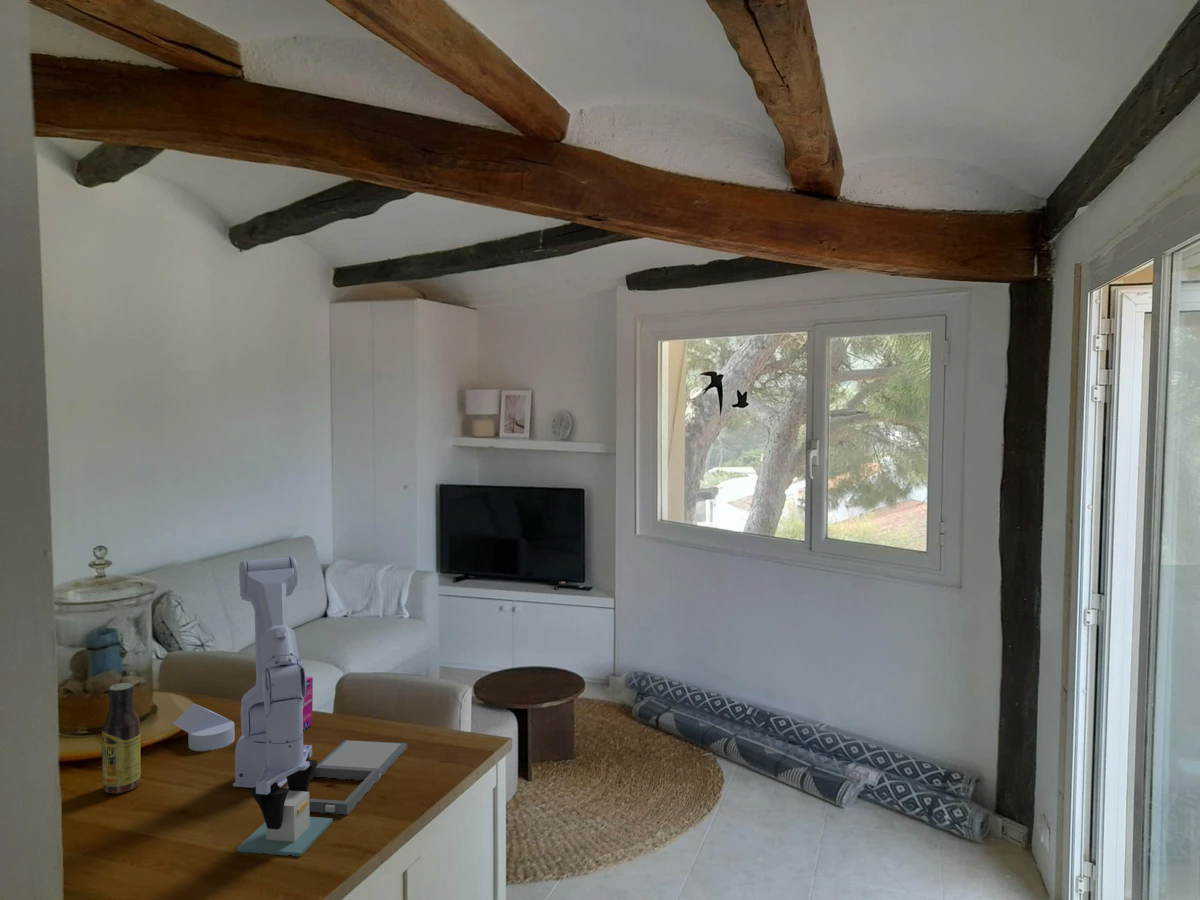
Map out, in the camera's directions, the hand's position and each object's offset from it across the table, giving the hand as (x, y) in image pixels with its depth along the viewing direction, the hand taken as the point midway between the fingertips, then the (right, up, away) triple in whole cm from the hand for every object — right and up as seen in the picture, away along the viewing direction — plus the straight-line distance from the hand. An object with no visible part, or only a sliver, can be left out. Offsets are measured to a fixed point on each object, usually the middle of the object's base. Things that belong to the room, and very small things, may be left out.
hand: (286, 816), depth 133 cm
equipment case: (+3, -3, +22) cm, 22 cm away
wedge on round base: (-33, -2, +40) cm, 52 cm away
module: (0, -3, 0) cm, 3 cm away
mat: (0, -3, 0) cm, 3 cm away
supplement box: (-16, -2, +46) cm, 48 cm away
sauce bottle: (-38, -3, +17) cm, 42 cm away
